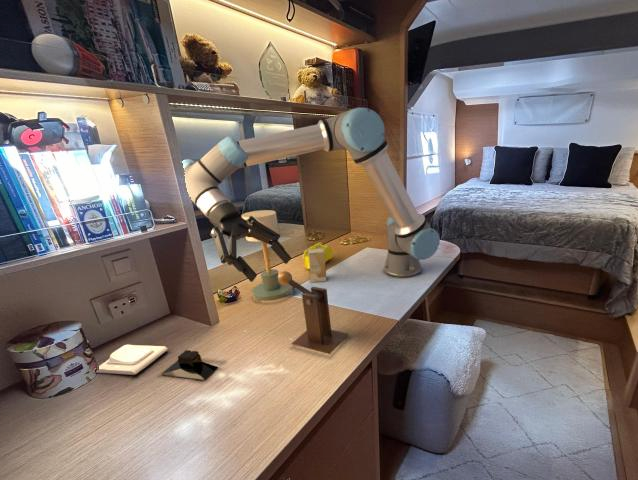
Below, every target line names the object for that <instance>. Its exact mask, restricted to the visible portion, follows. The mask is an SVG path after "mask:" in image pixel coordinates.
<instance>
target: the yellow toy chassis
mask: <svg viewBox="0 0 638 480" xmlns="http://www.w3.org/2000/svg"><path fill="white" fill-rule="evenodd" d="M314 249H324V254H325V263H328V261H330V260H331V259H332V258H334V257H333V256H334V255H333V247H332V246H331V245H328V246H327V245H323V243H322V242H320V241H319V242H318V243H316V244H314V245H312V246H310V247H308V248H307V249H305V250H304V252H303V255H302V258H303V264H304V269H307V270H310V266H309V256H308V250H314Z"/></svg>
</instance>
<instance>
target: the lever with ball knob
mask: <svg viewBox="0 0 638 480" xmlns="http://www.w3.org/2000/svg"><path fill="white" fill-rule="evenodd" d="M278 274H279V275H278V282H279V283H280V284H281V285H289V284H290V285H291V286H292V288H294V289H296V290H297V291H299V292H300V293H301V294H303V293H308V294H314V295H318V299H319V303H320V302H321V299H322V296H323V295H322V294H320V293H318V292H317V291H315V290H313V291H312V292H311V290H310V289H308V288H306V287H305V286H303V285H301V284H300V283H298V282H297V281H296V280H294V279H293V275H292V274H291V272H289V271H288V270H287V271H286V270H284V271H283V270H282V271H281V272H279V273H278Z"/></svg>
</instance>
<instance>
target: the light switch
mask: <svg viewBox="0 0 638 480" xmlns="http://www.w3.org/2000/svg"><path fill="white" fill-rule="evenodd" d="M167 351H169V350H168V347H166V346H164V345H140V344H139V345H138V344H124V345H123V346H120V348H118V349H116V350H115V351H113V352H112V353H111V354H110V355H109V358H108V359H107V360H106V361H105V362H103V363H101V364H100V365H98V366H99V370H97V371H96V372H95V373H98V374H99V373H100V374H115V375H116V374H117V375H131V376H135V375H137V374H139V372H141V371H142V370H144V369H145V368H146V367H148V366H149V365H150V364H152V363H153V362H154V361H156V360H157V359H158V358H159V357H161V356H162V355H163V354H164V353H166V352H167Z"/></svg>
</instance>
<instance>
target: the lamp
mask: <svg viewBox="0 0 638 480" xmlns="http://www.w3.org/2000/svg"><path fill="white" fill-rule="evenodd" d="M250 216H253V217H254V218H255V219H256V220H257V221H258V222H260V223H261V224H263V225H265V226H266V227H268V228H270V229H271V230H273V231H274V232H276V233H278V234H279V235H280V229H279V224H278V218H277V212H276V211H275V210H269V209H262V210H261V209H260V210H253V211H248V212H245V213H242V214H241V217H242V218H243V219H245V220H247V219H249V217H250ZM249 232H250V229H249ZM274 237H275V236H274ZM245 240H246V241H248V242H252V243H253V242H254V243H256V242H257V243H259V242H260V243H261V247H262V252H263V258H264V263H265V270H262V272H260V277H261V282H260V283H259V284H257V285H255V286H253V288H252V290H251V293H252V298H253V301H254V302H256V303H261V302H262V301H266V302H267V301H275V300H279V299H283V298H286V297H287V296H292V295H293V293H294V289H293V286H291V285H290V284H289V285H281V284H280V283H279V282H278V275H279V274H280V273H279V270H278V269H276V268H275V269H273V268H272V266H271V260H270V254H269V248H268V244H267V243H265V242H262V241H260V240H257V239H255V238H252V237H250V238H249V237H245Z"/></svg>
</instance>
